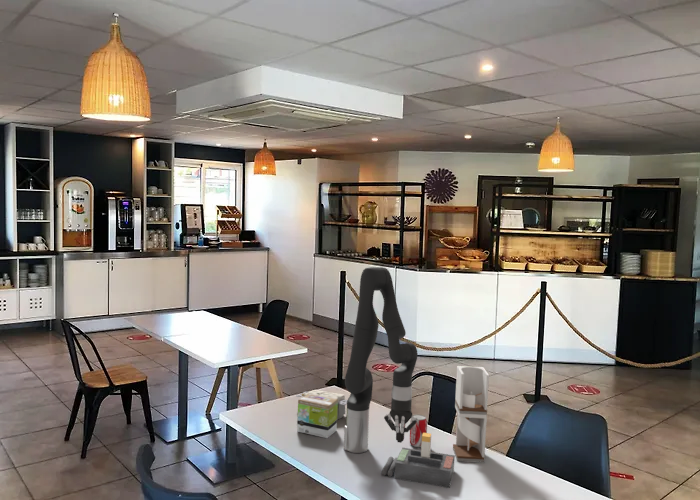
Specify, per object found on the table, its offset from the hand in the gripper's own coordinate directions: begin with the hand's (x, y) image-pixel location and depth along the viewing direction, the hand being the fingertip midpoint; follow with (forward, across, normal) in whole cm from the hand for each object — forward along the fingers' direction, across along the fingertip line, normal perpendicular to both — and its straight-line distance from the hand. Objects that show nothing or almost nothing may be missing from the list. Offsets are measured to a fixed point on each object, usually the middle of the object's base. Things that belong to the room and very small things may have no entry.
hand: (399, 441), depth 217 cm
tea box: (+11, +41, -24) cm, 49 cm away
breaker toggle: (+5, -10, 0) cm, 11 cm away
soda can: (+11, -3, -26) cm, 28 cm away
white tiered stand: (+11, -24, -23) cm, 35 cm away
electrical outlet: (+11, +45, -45) cm, 65 cm away
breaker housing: (+11, -10, 0) cm, 15 cm away
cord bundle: (+11, +3, 0) cm, 12 cm away
